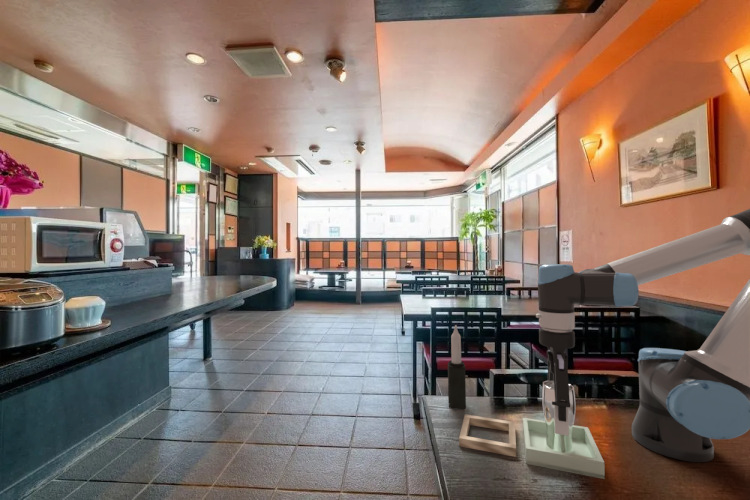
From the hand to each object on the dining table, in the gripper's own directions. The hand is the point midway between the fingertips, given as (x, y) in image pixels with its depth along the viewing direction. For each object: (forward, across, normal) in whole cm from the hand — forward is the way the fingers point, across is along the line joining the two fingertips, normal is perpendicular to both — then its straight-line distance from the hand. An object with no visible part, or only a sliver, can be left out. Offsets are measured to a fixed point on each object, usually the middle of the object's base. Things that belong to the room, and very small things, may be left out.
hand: (558, 422), depth 80 cm
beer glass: (+6, 0, 0) cm, 6 cm away
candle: (+7, -17, -26) cm, 32 cm away
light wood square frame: (+7, -1, -16) cm, 17 cm away
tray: (+7, 0, 0) cm, 7 cm away
